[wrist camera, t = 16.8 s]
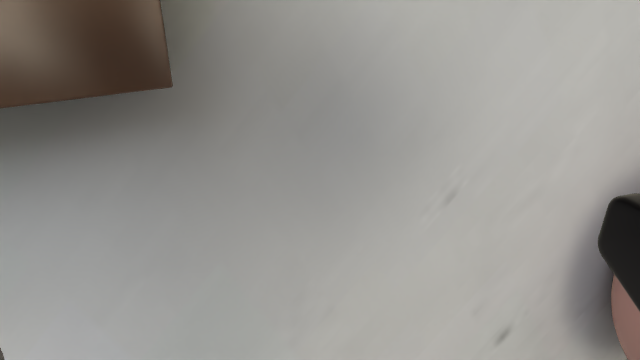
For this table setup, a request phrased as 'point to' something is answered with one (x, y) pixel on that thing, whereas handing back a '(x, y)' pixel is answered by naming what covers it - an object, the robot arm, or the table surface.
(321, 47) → the table surface
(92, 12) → the shelf
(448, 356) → the table surface
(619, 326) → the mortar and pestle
